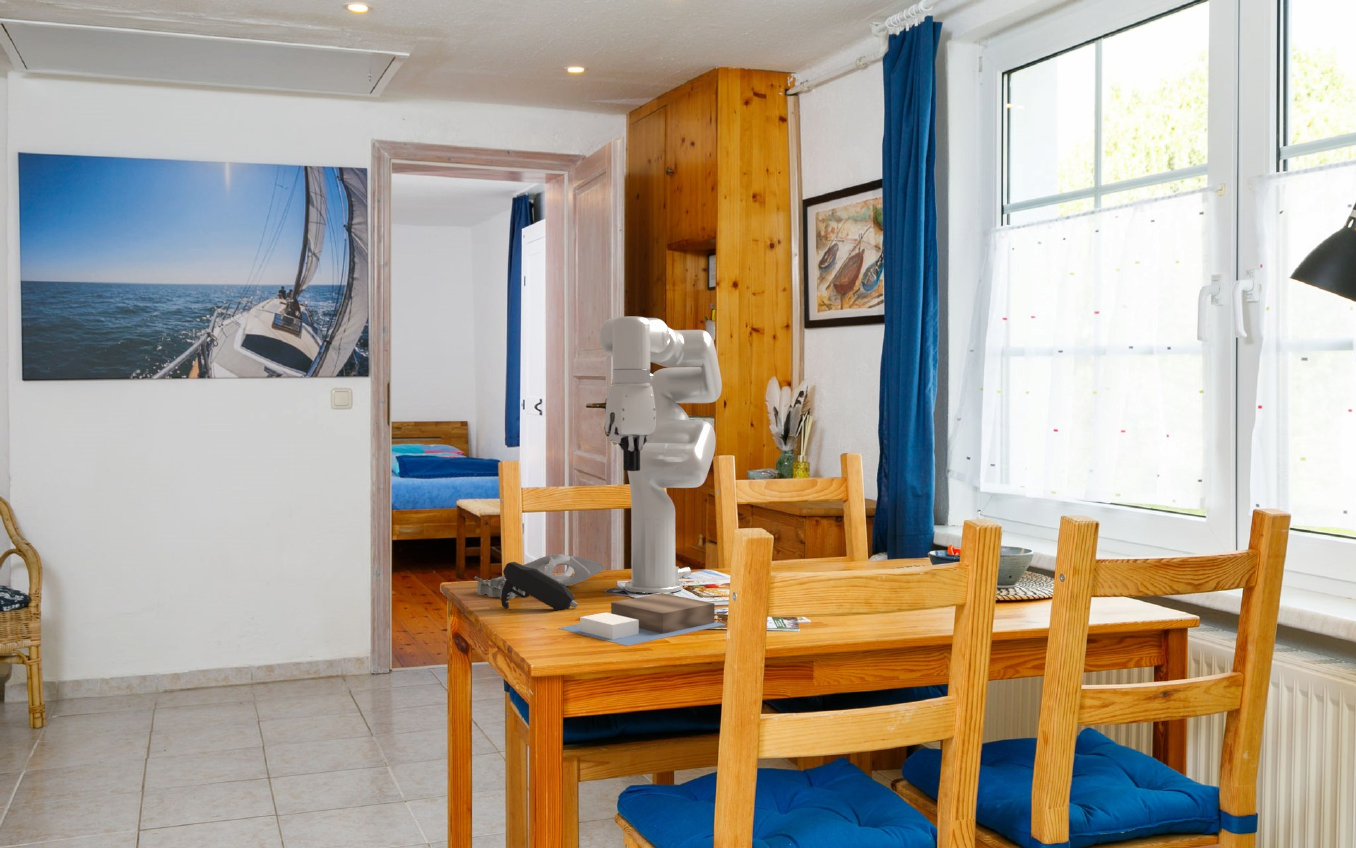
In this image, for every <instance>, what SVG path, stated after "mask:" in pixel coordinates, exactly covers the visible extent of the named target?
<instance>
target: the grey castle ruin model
mask: <svg viewBox="0 0 1356 848" xmlns="http://www.w3.org/2000/svg"><path fill="white" fill-rule="evenodd" d="M473 579H474V580H476V581H477V585H476V586H477V588H476V589H477V596H485V595H484V594H487V595H486V596H488V597H489V598H490V597H491V598H499V599H501V594H502V589H503V587H504V584H505V582H506V578H505V576H504V575H503V576H498V577H495V578H491V579H490V580H488V579H485V580H484V579H483V578H480V577H478V576H474V577H473ZM513 589H514V590H516V587H515V586H514V587H513ZM516 591H517V590H516ZM517 592H519V593H521V594H523V595H524V596H525V592H524V591H522V590H520V589H519V588H518V591H517ZM509 595H510V596H509V597H508V598H509V600H510V599H515V598H516V597H519V596H518V595H516V594H514V593H512V592H510V593H509Z"/></svg>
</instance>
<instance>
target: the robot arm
mask: <svg viewBox="0 0 1356 848" xmlns="http://www.w3.org/2000/svg"><path fill="white" fill-rule="evenodd" d="M599 343H600V344H599V345H600V346H601V349H602V350H603V352H604V353H605V354H607V355H608V356H610V357H612V385H610V386H609V388H608V390H607V397H606V404H605V418H604V419H605V420H604V421H605V423H604V428H605V430H604V431H605V433H606V434H607V435H609V439H608V440H609V441H610V442H612V443H617V444H618V445H619V446H620V450H621V451H623V470H624V472H625V471H626V472H627V476H628V481H629V487H630V488H629V489H630V500H631V501H630V503H631V504H630V505H631V509H630V511H631V512H630V513H631V514H630V515H631V522H630V523H631V533H630V534H631V535H630V536H631V580H628V581H626V582H625V583H624V587H623V588H624V590H626V591H627V592H631V593H636V592H645V593H644V594H648V593H654V594H653V595H656V594H661V593H664V594H666V593H675V592H679V591H682V589H683V585H684V584H683V582H681V581H680V579H681V578H682V577H683V578H684V577H689V576H691V575H692V570H691V568H690V567H689V566H686V567H681V568H679V567H680V566H676V507H675V504H674V502H673V500H672V498H671V497H670V496H669V494H668V493H667V492H666V491H665V489H668V488H677V489H679V488H681V489H689V488H691V489H693V488H698V487H701V486H702V485H703V484H704V483H705V482H706V479H707V477H708V473H709V470H710V468H711V465H712V463H713V459H714V455H715V451H716V444H717V443H716V432H715V430H714V427H713V426H712V424H711V423H710V422H708V421H706V420H702V419H690V417H689V415H688V414H687V413H686V411H685V410H684V409H683V408H682V407H681V405H679V404H710V403H715V402H716V401H718V399H719V398H720V396H721V394H722V391H723V390H722V389H723V386H722V385H723V383H722V376H721V371H720V364H719V359H718V355H717V350H716V346H715V343H714V340H713V338H712V336H711V335H710V334H709V332H708V331H706V330H703V329H682V330H681V329H680V330H679V329H677V330H676V329H673V328H670V327H669V326H668V325H667V324H666V323H665V321H664V320H663V319H660V318H657V317H644V316H636V315H635V316H634V315H633V316H628V315H627V316H619V317H617V318H609V319H606V320H605V321H604V322H603V323H602V324H601V327H600V329H599ZM651 363H653V364H656V365H659V366H662V367H664V368H661V369H658V370H656V371H654V372H653V373H651Z"/></svg>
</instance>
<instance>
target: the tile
mask: <svg viewBox="0 0 1356 848" xmlns="http://www.w3.org/2000/svg"><path fill="white" fill-rule="evenodd" d="M579 624H580V631H582V632H585V633H589V634H593V635H597V636H601V637H605V638H609V639H617V638H622V637H627V636H632V635H636V634H639V620H637V619H633V618H628V617H624V616H619V615H615V614H611V612H601V613H595V614H590V615H584V616H580V617H579Z"/></svg>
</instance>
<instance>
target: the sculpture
mask: <svg viewBox="0 0 1356 848" xmlns="http://www.w3.org/2000/svg"><path fill="white" fill-rule="evenodd" d="M522 565H523V566H525V567H529V568H535V569H537V570H541V571H543V572H545V573H547V574H548V575H550V576H552V577H554V578H555V579H557V580H559V581H561V583H562V584H563V585H565V586H566V587H567V586H572V585H576V584H579V583H582V582H584V581H588V579H590V578H591V577H593V576H596V575H598V574H599V573H602V571H604V570H605V567H604V565H603V564H601V563H600V562H598V561H595V560H591V559H588V558H586V557H580V556H575V555H566V554H561V553H554V554H550V555H546V556H545V555H544V556H542V557H539V558H536V559H535V560H533V561H530V562H527V563H525V564H522ZM562 565H563V566H566V570H565V571H564V573H561V574H553V572H554V569H555V568H556V567H558V566H562ZM573 572H574V573H573ZM572 574H573V575H572Z"/></svg>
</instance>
